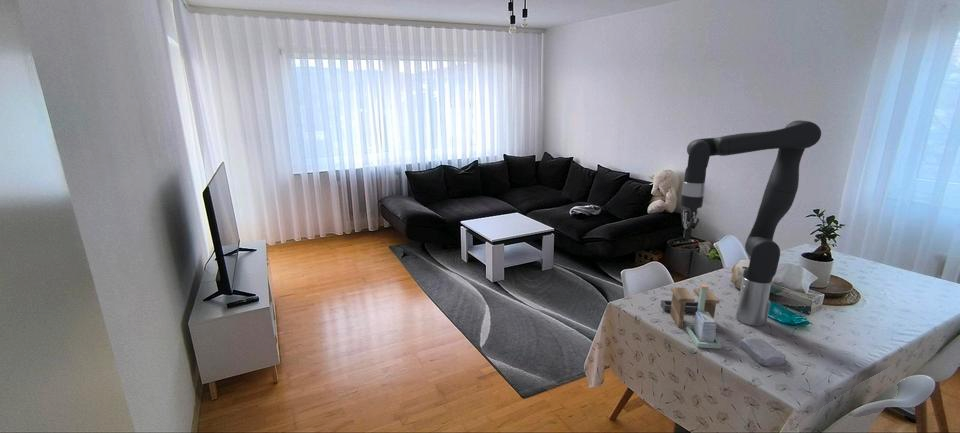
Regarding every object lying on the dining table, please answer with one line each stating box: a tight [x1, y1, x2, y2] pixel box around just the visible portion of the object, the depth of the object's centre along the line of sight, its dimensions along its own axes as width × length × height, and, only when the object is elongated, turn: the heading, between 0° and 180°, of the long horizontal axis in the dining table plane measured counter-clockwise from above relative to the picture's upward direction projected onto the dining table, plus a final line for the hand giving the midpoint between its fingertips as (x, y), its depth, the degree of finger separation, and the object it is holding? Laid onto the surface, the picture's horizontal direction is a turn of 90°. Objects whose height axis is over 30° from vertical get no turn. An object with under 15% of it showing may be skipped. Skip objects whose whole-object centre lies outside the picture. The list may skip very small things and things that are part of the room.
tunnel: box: [669, 286, 720, 329], centre depth 164 cm, size 14×10×12 cm
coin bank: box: [730, 259, 750, 290], centre depth 196 cm, size 16×17×13 cm
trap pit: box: [660, 299, 698, 314], centre depth 175 cm, size 15×5×2 cm, turn 83°
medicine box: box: [692, 312, 718, 343], centre depth 153 cm, size 8×4×9 cm, turn 173°
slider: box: [685, 283, 723, 350], centre depth 151 cm, size 8×12×18 cm, turn 173°
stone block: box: [739, 337, 786, 367], centre depth 144 cm, size 12×5×10 cm
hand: (686, 238), depth 167 cm, fingers closed
